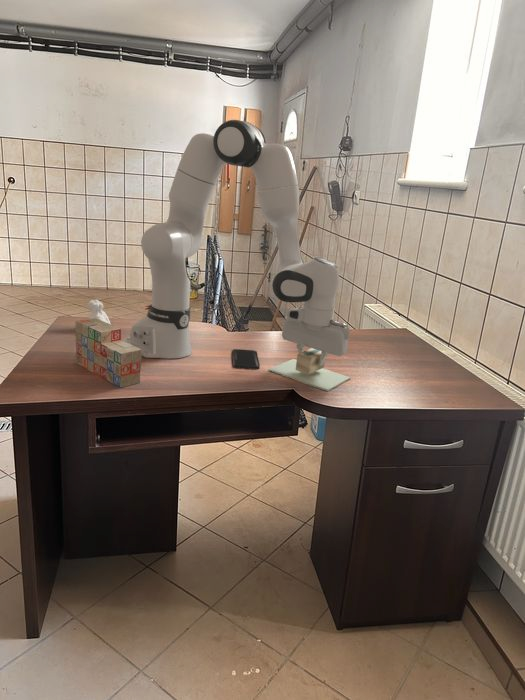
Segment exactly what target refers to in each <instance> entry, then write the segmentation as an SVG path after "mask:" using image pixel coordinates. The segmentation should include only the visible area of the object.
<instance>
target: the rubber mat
mask: <svg viewBox="0 0 525 700" xmlns="http://www.w3.org/2000/svg"><path fill="white" fill-rule="evenodd" d="M296 362H297V358H296V359H294V358H292V359H290V360H286V361H284V362H282V363H280V364H278V365H274V366H272V367H270V368H268V369H267V371H268V370H270V371H272V372H271V373H273V372H275V373H274V374H276V373H279V374H281V375H280V376H282V375H284V376H283V377H285V376H287V377H286V378H288V377H289V378H288V379H290V378H292V379H291V380H293V379H295V380H294V381H296V380H298V381H297V382H299V381H300V382H299V383H302V382H303V384H305V385H308V386H310V387H314V388H316V389H320V390H323V391H326V392H329V391H331V390H334V389H335V388H337V387H339V386H341V385H342V384H344V383H346V382H347V381H349V380H351V377H350V376H347V375H346V374H345V375H344V374H341V373H339V372H334V371H332V370H329V369H326V368H321V369H319V370H317V371H315V372H313V373H311V374H306V373H303V372H300V371H297V370H296ZM270 371H269V372H270ZM279 374H278V375H279Z"/></svg>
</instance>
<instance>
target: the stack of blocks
mask: <svg viewBox="0 0 525 700" xmlns="http://www.w3.org/2000/svg"><path fill="white" fill-rule="evenodd" d="M110 324H111V323H110ZM110 324H108V323H106V322H103V321H101V320H99V319H97V318H93V319H89V318H87V319H81V320H75V346H76V347H75V348H76V349H75V350H76V351H75V352H76V354H75V355H76V356H75V357H76V363H77V364H78V365H80V366H82V367H83V368H85V369H86V370H88V371H90V372H91V373H94V374H95V375H97V376H99V377H101V378H103V379H105V380H107V381H108V382H109V383H111V384H112V385H115V386H116V387H118V388H124V387H129V386H132V385H135V384H139V383H141V363H142V362H141V361H142V355H141V349H139V348H137V347H134V346H133V345H131V344H129V343H127V342H124V341H122V340H123V339H122V329H121V328H120V327H117V326H115V325H112V324H111V325H110ZM121 339H122V340H121Z"/></svg>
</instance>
